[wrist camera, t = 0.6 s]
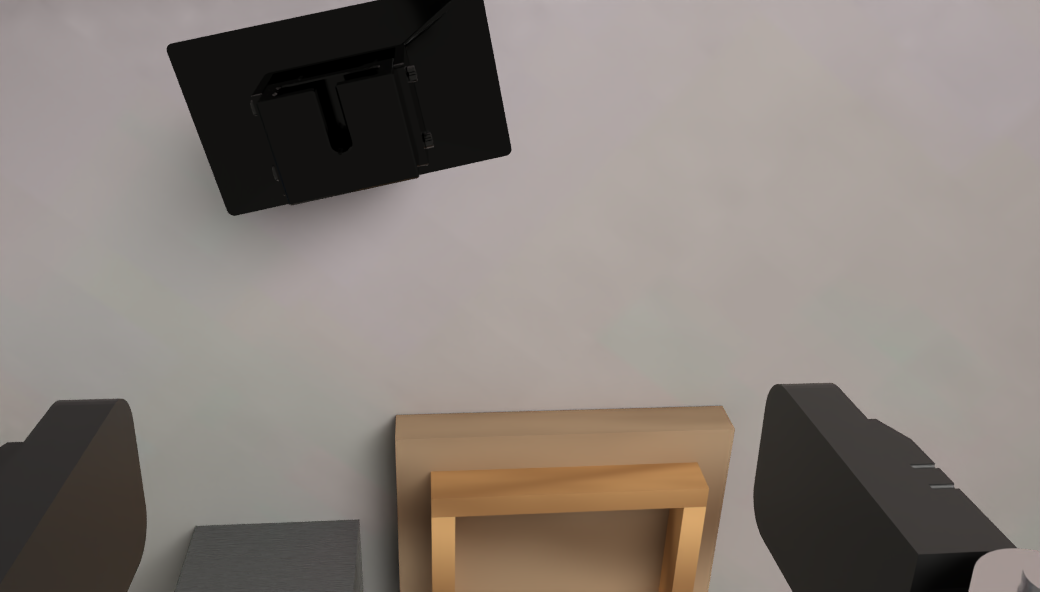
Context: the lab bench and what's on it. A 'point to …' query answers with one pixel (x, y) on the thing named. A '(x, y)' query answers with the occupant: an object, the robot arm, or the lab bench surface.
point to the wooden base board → (561, 499)
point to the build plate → (343, 99)
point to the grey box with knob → (274, 558)
